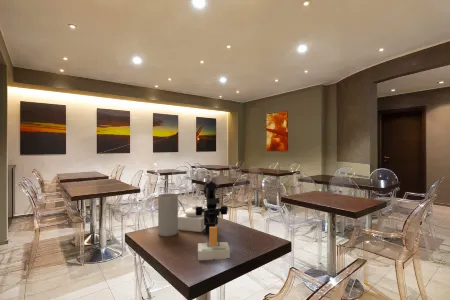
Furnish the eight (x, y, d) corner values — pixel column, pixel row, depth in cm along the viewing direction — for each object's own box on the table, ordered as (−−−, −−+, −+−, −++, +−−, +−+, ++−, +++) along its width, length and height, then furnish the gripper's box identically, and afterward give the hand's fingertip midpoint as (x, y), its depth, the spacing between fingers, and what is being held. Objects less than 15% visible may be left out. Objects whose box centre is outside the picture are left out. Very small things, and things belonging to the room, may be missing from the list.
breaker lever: (209, 243, 127) (209, 226, 127) (216, 243, 127) (216, 226, 127) (209, 244, 125) (209, 227, 125) (217, 244, 126) (217, 227, 126)
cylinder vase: (168, 238, 148) (168, 198, 148) (154, 234, 154) (154, 195, 154) (181, 232, 159) (181, 194, 158) (168, 228, 165) (168, 192, 165)
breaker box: (198, 251, 129) (198, 240, 129) (227, 250, 131) (227, 239, 130) (198, 260, 119) (198, 248, 119) (229, 258, 121) (229, 247, 121)
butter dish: (177, 229, 164) (177, 206, 163) (188, 222, 181) (188, 201, 181) (201, 232, 159) (201, 208, 158) (210, 224, 176) (210, 202, 176)
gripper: (195, 192, 139) (195, 217, 128) (227, 192, 141) (229, 216, 130) (195, 203, 147) (195, 227, 136) (226, 202, 149) (228, 225, 138)
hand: (212, 223), depth 135 cm, fingers closed
